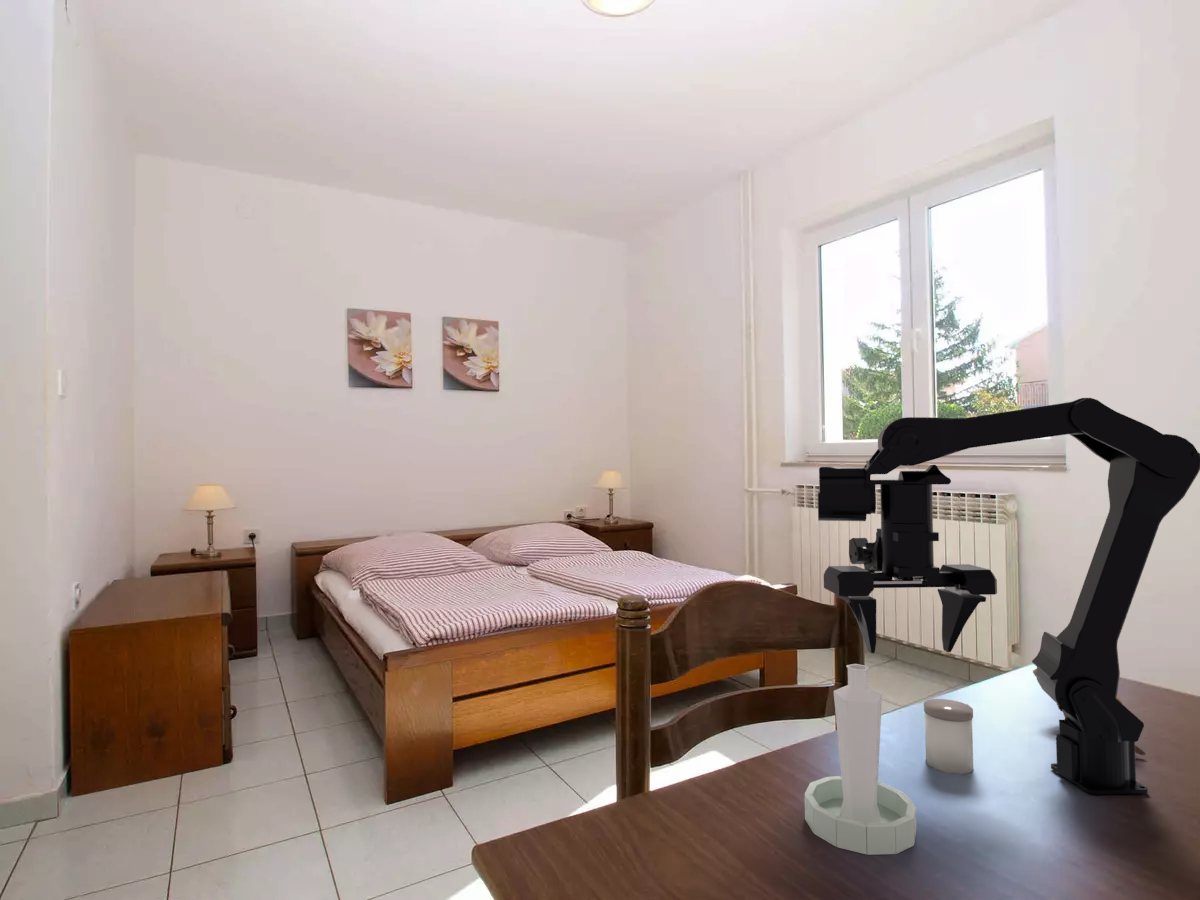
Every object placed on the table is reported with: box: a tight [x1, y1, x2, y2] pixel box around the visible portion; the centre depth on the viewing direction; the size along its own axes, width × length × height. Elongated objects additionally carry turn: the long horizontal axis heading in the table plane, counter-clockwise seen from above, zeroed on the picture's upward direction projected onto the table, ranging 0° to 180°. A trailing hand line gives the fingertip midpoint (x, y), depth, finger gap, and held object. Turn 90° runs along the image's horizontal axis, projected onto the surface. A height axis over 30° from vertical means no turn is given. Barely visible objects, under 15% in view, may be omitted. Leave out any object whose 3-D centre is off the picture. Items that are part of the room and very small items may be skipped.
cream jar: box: [923, 698, 974, 775], centre depth 80 cm, size 5×5×7 cm
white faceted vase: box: [833, 663, 883, 823], centre depth 67 cm, size 5×4×15 cm
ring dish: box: [804, 775, 917, 856], centre depth 66 cm, size 10×10×2 cm
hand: (909, 651), depth 81 cm, fingers open, 9 cm apart
